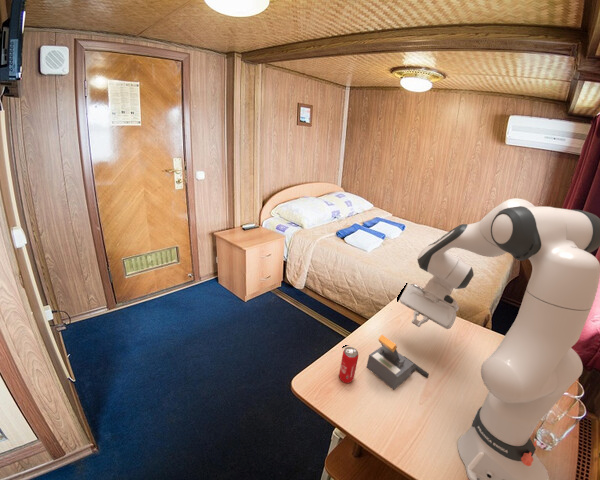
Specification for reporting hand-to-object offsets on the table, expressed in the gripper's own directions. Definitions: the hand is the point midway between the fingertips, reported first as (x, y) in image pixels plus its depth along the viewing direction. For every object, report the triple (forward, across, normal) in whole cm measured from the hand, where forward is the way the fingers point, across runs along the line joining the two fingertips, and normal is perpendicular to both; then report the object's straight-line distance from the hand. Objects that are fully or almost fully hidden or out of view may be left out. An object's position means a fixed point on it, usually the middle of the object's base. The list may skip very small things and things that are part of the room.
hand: (415, 324), depth 111 cm
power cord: (+14, +4, +9) cm, 17 cm away
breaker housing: (+20, 0, +4) cm, 20 cm away
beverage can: (+30, -7, -7) cm, 32 cm away
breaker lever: (+14, 0, -2) cm, 14 cm away
